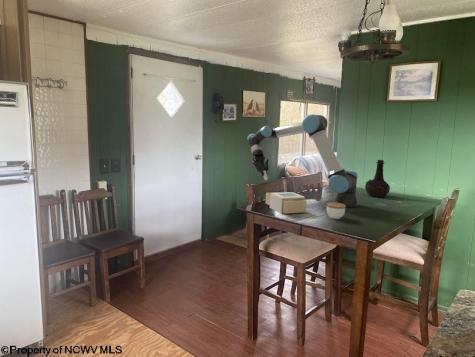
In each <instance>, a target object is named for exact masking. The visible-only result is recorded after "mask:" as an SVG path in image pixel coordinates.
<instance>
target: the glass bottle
mask: <svg viewBox="0 0 475 357" xmlns="http://www.w3.org/2000/svg"><path fill="white" fill-rule="evenodd" d="M375 162H376V169H375V174H374V177H373V179H371V178H370V179H369V180H367V181H366V182H365V185H364V189H365V191H366V193H367V194H368V195H369V196H371V197H373V196H375V197H374V198H382V197H385V196H387V195H388V194H389V193H390V190H391V189H390V188H391V187H390V184H389V183H388V182H387V181H386V180H385V178H384V164H385V162H384V160H383V159H377V161H375Z"/></svg>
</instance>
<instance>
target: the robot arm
mask: <svg viewBox="0 0 475 357" xmlns="http://www.w3.org/2000/svg"><path fill="white" fill-rule="evenodd" d="M328 125H329V124H328V119H327V118H326V117H325V116H324V115H322V114H321V115H320V114H315V113H314V114H313V113H311V114H308V115H306V116H305V117H304V118H303V120H302V122H298V123H291V124H288V125H283V126H278V127H274V128H270V127H269V126H268V125H264V126H263V127H261V128H260V129H259V130H258V131H257V132H256V133H250V134H248V136H247V137H246V138H247V142H248V145H249V148H250V151H251V154H252V156H253V158H252V160H251V161H250V162H251V163H252V164H253V165H254V167H255V168H256V171H257V172H259V173H260V174H261V176H262V177H263V180H264V181H268V179H269V176H268V175H269V174H268V171H269V158H266V157H265V156H264V151H263V149H262V146H261V143H263V142H264V141H266V140H272V139H273V140H276V139H278V138H284V137H289V136H295V135H299V134H304V133H307V135H308V137H309V139H311V140H313V141H314V144H315V146H316V149H317V151H318V153H319V155H320V157H321V161H322V162H323V164H324V166H325V168H326V171H327V175H326V177H327V178H328V184H327V185H328V187H329V189H330V191H332V192H333V193H336V195H335V198H334V200H333V203H335V202H337V203H341V204H344V205H346V208H356V207H358V199H357V194H356V191H357V183H358V182H357V181H358V172H357V171H350V170H346V169H345V168H343V167H341V165H340V162H339V160H338V158H337V155H336V154H335V152H334V149H333V147H332V144H331V143H330V141H329V138H328V136H327V128H328Z"/></svg>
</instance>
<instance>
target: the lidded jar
mask: <svg viewBox="0 0 475 357" xmlns="http://www.w3.org/2000/svg"><path fill="white" fill-rule="evenodd" d="M346 208H347V207H346V205H344V204H341V203H337V202H335V203H334V202H328V203H326V213H327V215H328V217H329V218H330V219H334V220H340V219H342V217H343V216H344V215H345V213H346Z"/></svg>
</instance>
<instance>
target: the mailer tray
mask: <svg viewBox="0 0 475 357" xmlns="http://www.w3.org/2000/svg"><path fill="white" fill-rule="evenodd" d="M285 192H286V191H277V192H276V191H275V192H266V193H265V205H267V206H270V193H285ZM307 202H308V201H307V199H301V198H296V199H283V204H282V212H284V213H283V214H299V213H306V212H307Z"/></svg>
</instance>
